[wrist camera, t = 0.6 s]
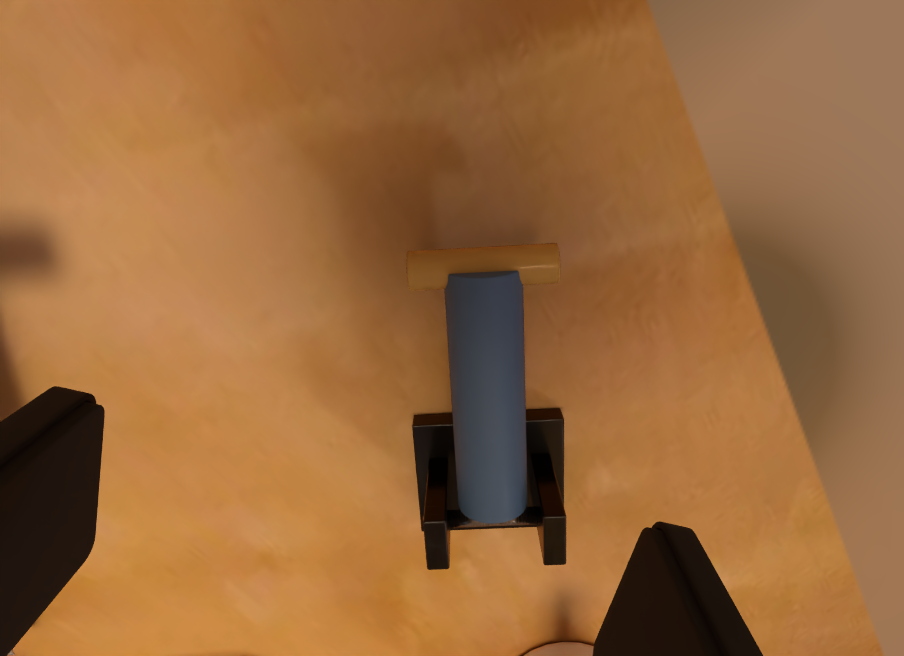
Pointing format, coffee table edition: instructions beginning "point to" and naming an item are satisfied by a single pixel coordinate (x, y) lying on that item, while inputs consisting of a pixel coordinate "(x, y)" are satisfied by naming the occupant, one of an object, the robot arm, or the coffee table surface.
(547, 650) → the mug
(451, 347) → the t-shaped handle
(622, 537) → the coffee table surface
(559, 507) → the bracket
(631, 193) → the coffee table surface
